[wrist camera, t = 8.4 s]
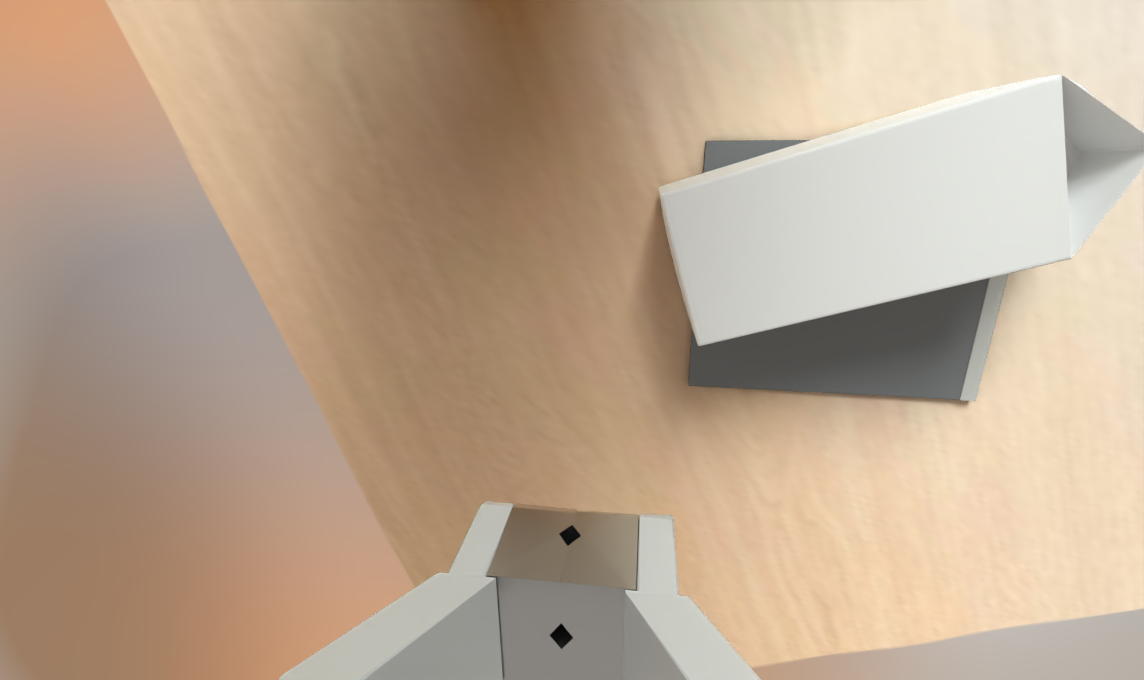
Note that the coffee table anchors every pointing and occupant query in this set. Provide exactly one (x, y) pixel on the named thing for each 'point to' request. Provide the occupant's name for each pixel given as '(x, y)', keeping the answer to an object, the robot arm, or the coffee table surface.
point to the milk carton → (898, 206)
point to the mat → (859, 336)
